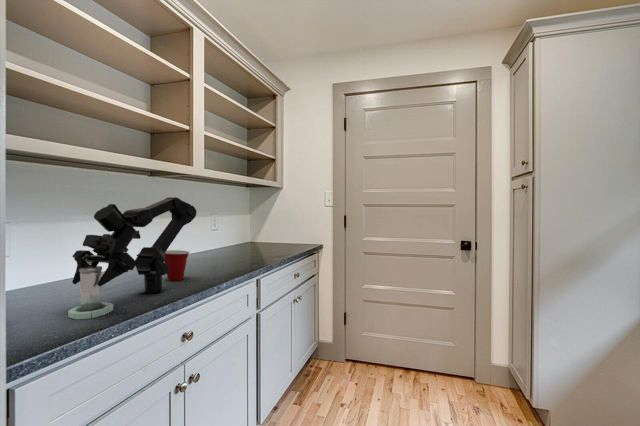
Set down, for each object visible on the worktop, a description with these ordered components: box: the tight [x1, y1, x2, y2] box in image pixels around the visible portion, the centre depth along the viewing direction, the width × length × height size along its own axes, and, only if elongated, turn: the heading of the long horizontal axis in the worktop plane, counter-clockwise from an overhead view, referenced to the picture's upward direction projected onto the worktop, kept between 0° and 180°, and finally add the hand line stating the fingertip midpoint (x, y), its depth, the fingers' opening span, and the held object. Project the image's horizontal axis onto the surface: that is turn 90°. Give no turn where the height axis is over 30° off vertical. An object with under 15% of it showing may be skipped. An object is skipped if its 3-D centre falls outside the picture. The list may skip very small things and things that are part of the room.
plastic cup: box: [164, 249, 191, 282], centre depth 135 cm, size 11×11×12 cm
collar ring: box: [67, 301, 114, 320], centre depth 94 cm, size 10×10×2 cm
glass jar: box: [79, 265, 103, 312], centre depth 94 cm, size 5×5×13 cm
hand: (86, 284), depth 92 cm, fingers open, 9 cm apart
